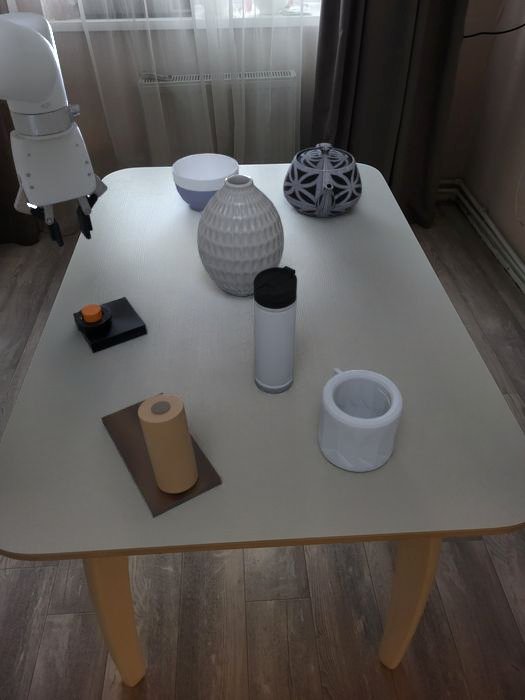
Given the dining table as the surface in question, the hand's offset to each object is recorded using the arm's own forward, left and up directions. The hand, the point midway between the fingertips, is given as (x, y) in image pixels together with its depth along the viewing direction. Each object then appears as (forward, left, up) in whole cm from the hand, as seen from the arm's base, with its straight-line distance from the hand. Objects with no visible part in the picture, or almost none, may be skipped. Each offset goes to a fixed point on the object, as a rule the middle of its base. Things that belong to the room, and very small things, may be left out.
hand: (72, 238), depth 87 cm
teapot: (+63, +18, -19) cm, 69 cm away
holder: (-1, -31, -19) cm, 36 cm away
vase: (+30, -1, -19) cm, 35 cm away
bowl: (+41, +35, -19) cm, 57 cm away
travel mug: (+21, -27, -19) cm, 39 cm away
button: (0, 0, -16) cm, 16 cm away
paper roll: (-1, -34, -12) cm, 36 cm away
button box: (+3, 0, -19) cm, 19 cm away
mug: (+24, -43, -19) cm, 53 cm away
